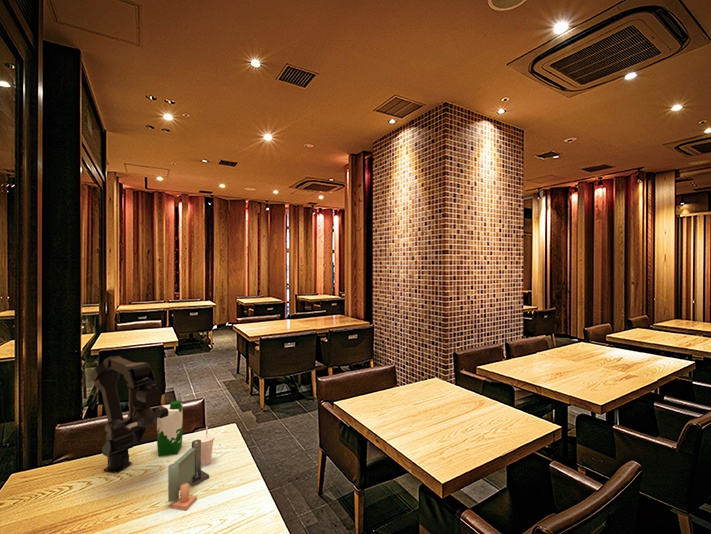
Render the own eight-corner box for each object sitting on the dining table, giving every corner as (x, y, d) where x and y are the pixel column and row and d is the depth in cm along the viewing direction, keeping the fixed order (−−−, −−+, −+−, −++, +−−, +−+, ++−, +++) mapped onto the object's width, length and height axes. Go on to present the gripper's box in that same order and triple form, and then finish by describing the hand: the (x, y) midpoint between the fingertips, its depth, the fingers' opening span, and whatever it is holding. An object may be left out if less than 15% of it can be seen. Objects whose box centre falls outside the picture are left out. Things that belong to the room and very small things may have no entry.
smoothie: (207, 468, 130) (207, 431, 130) (192, 466, 131) (192, 429, 131) (217, 459, 136) (217, 423, 136) (203, 457, 137) (203, 422, 137)
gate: (189, 477, 121) (189, 447, 121) (197, 478, 121) (197, 448, 121) (166, 501, 109) (166, 468, 109) (175, 502, 108) (174, 468, 108)
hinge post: (199, 472, 127) (199, 435, 127) (209, 478, 123) (208, 440, 124) (183, 480, 122) (183, 442, 122) (193, 486, 119) (192, 447, 119)
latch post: (172, 508, 108) (172, 489, 108) (183, 498, 113) (183, 479, 113) (186, 510, 107) (186, 491, 107) (196, 499, 112) (196, 481, 112)
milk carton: (179, 455, 139) (178, 405, 139) (154, 458, 137) (154, 407, 137) (184, 444, 148) (184, 397, 148) (161, 447, 145) (161, 399, 146)
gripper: (118, 413, 111) (118, 462, 111) (176, 396, 126) (176, 438, 126) (104, 406, 117) (104, 451, 117) (161, 390, 133) (161, 430, 132)
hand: (138, 443), depth 123 cm, fingers closed
